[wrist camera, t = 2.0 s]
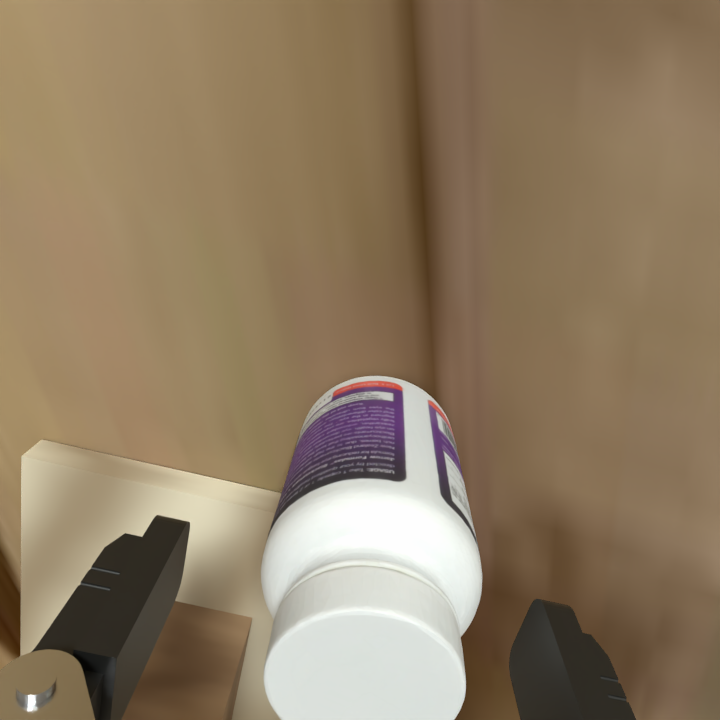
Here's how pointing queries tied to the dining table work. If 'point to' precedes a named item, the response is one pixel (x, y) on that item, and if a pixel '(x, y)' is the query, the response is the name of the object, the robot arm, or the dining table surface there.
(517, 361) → the dining table surface
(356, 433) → the pill bottle
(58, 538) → the board
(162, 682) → the walnut cube
